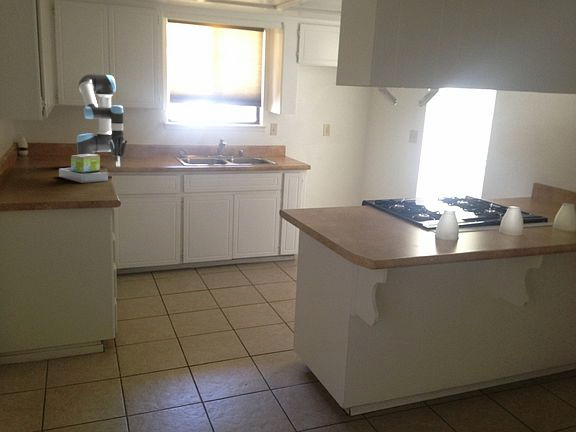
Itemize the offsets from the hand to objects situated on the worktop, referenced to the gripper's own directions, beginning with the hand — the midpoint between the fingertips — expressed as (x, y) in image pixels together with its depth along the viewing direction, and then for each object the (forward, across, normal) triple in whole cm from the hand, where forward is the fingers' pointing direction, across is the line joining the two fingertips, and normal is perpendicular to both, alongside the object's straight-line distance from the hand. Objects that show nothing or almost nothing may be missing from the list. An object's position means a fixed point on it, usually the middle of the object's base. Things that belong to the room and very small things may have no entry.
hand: (118, 166), depth 344 cm
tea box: (+6, +23, +1) cm, 24 cm away
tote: (+6, +24, +1) cm, 25 cm away
